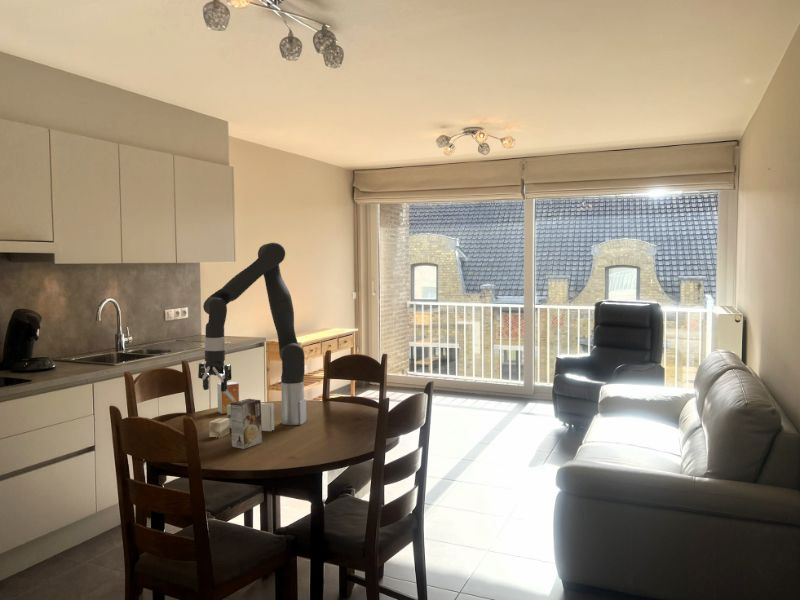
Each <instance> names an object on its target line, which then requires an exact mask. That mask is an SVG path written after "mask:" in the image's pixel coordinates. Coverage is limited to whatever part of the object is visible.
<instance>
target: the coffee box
mask: <svg viewBox="0 0 800 600" xmlns="http://www.w3.org/2000/svg"><path fill="white" fill-rule="evenodd" d="M261 403H262V401H261V399H255V398H253V399H252V398H246V399H243V400H242V399H241V400H239V401H237V402H233V403H231V427H232V428H231V446H232V448H238V449H241V450H245V449H249V448H251V447H253V446H256V445H259V444H262V443H263V434H262V433H263V431H262V427H261Z"/></svg>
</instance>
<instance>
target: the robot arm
mask: <svg viewBox="0 0 800 600" xmlns="http://www.w3.org/2000/svg"><path fill="white" fill-rule="evenodd" d="M285 258H286V250H285V248H284V246H283V245H282V244H281V243H278V242H269V243H266V244H262V245H261V246H260V247H259V249H258V251H257V259H256V260H255V261H253V262H252V263H250V265H248V266H247V267H245V268H244V269H243V270H241V271H240V272H239V273H237V274H236V275H234V276H233V277H232V278H230V280H229V281H228V282H226V283H225V285H224V286H222V287H221V288H219V289H218V290H217V291H215V292H214V293H212V294H210V296H208V297H207V298H206V299H205V301H204V302H203V305H202V306H203V311H204V312H205V313H206V314H207V315H208V321H207V323H206V324H205V328H204V329H205V334H204V335H205V336H204V337H205V338H204V339H205V340H204V362H200V363H198V372H197V373H198V374H197V376H198V377H197V378H198V379H201V380H202V389H203V390H204V391H207V390H209V389H210V386H209V385H210V384H209V383H210V382H209V381H210V380H209V379H210V377H211V376H217V377H218V378H219V379H220V381H221V382H220V383H221V392H225V391H226V390H227V382H229V381H232V378H233V377H232V365H231V364H225V360H226V342H225V323H226V320H227V314H228V306H227V305H228V304H229V303H230V302H233V301H236V300H237V299H238V298H239V297H240V296H242V295H243V294H244V293H245V292H246V291H247V290H248V289H249V288H250V287H251V286H252V285H253V284H254V283H256V282H257V281H258V279H260V278H261V277H262V276H263V279H264V282H265V288H266V294H267V298H268V305H269V307H270V308H269V309H270V313H271V317H272V321H273V324H274V327H275V330H276V335H277V341H278V352H279V353H278V354H279V357H280V360H281V376H280V377H281V378H280V380H281V381H280V382H281V383H280V387H281V390H280V391H281V392H280V393H281V422H282V423H281V424H282V425H285V426H297V425H298V426H299V425H303V424H304V423H306V422H307V399H306V398H305V387H304V385H305V379H304V378H305V372H306V371H305V360H306V359H305V358H306V357H305V351H304V349H303V348H302V346H300V344H299V342H298V340H297V337H296V331H295V311H294V310H295V309H294V304H293V300H292V296H291V293H290V291H289V289H288V287H287V285H286V283H285V281H284V280H283V277H282V273H281V268H280V264H281V263H282V262H283V261H284V260H285Z"/></svg>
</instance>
